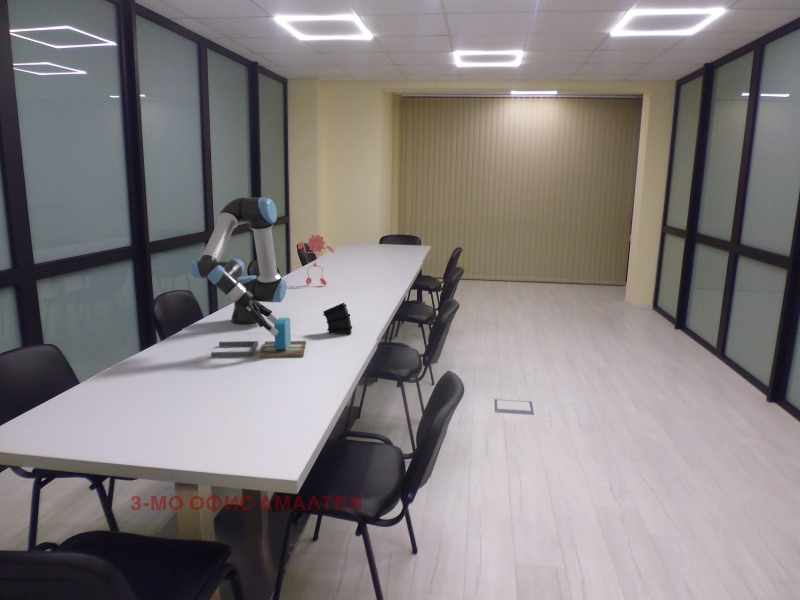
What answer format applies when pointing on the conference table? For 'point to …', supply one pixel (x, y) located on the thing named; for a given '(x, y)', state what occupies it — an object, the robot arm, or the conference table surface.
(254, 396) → the conference table surface
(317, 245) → the figurine
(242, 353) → the grey u-shaped frame
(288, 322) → the data package
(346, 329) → the magazine
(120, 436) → the conference table surface
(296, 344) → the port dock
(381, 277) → the conference table surface
